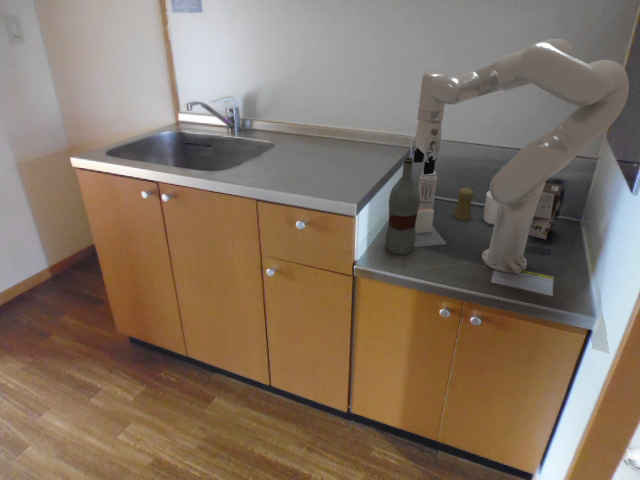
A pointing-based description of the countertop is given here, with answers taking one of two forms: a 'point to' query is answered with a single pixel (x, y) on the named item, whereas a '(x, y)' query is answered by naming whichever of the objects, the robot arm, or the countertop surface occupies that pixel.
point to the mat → (428, 238)
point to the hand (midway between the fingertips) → (423, 167)
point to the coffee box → (545, 210)
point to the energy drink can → (427, 190)
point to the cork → (464, 204)
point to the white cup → (490, 209)
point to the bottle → (403, 212)
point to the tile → (424, 220)
